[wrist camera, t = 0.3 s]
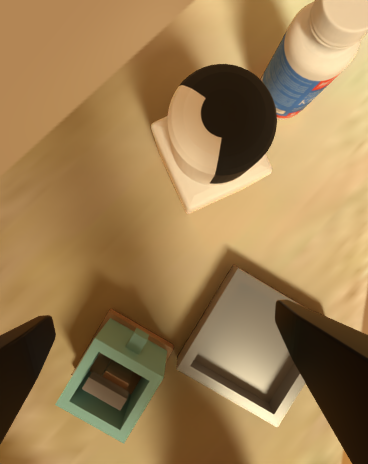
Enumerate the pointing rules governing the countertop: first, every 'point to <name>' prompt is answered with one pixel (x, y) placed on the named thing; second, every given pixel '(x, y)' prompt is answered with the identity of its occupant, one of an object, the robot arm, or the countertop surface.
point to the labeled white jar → (216, 134)
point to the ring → (130, 356)
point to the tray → (243, 349)
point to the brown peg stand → (116, 368)
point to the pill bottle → (314, 52)
